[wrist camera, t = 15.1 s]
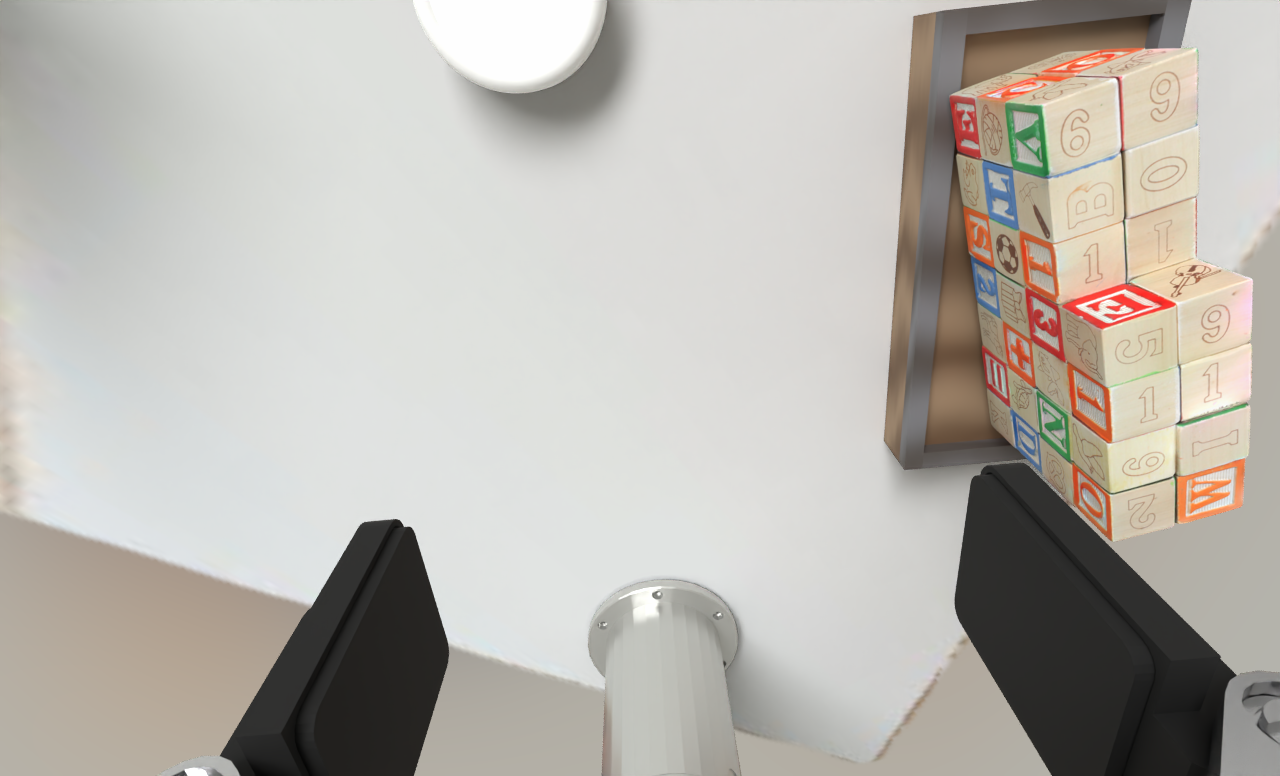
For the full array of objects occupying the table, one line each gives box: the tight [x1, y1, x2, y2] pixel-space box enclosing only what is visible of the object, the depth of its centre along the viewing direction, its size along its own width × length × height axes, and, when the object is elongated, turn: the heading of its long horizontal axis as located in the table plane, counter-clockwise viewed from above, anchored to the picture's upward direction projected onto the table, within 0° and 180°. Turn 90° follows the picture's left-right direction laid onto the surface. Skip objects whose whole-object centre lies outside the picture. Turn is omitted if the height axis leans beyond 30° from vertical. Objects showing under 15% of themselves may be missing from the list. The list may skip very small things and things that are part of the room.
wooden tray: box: [884, 0, 1192, 470], centre depth 41 cm, size 27×12×4 cm, turn 6°
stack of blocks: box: [949, 48, 1253, 542], centre depth 34 cm, size 21×6×12 cm, turn 20°
